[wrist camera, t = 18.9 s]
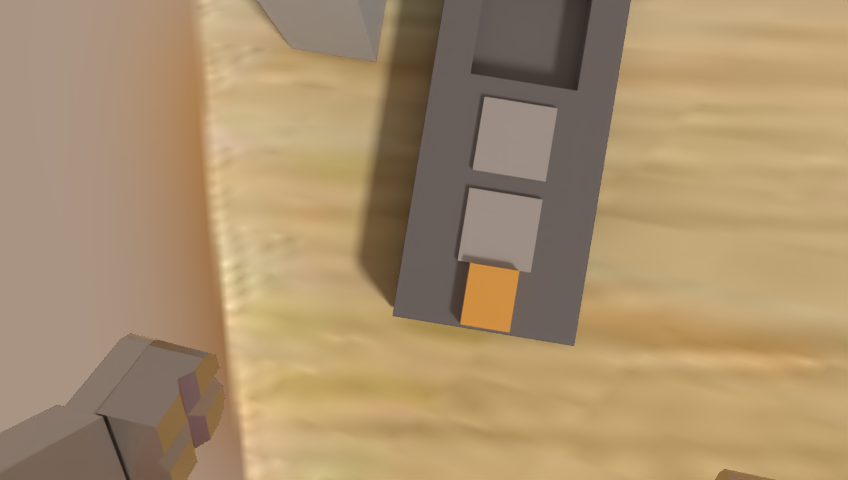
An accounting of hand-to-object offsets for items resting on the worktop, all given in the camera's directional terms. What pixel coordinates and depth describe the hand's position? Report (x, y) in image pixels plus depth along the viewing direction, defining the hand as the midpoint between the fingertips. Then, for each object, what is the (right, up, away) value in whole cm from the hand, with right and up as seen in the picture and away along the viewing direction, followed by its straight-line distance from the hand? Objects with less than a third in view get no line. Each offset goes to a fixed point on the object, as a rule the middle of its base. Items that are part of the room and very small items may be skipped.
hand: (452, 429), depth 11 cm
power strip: (+4, +9, +25) cm, 27 cm away
